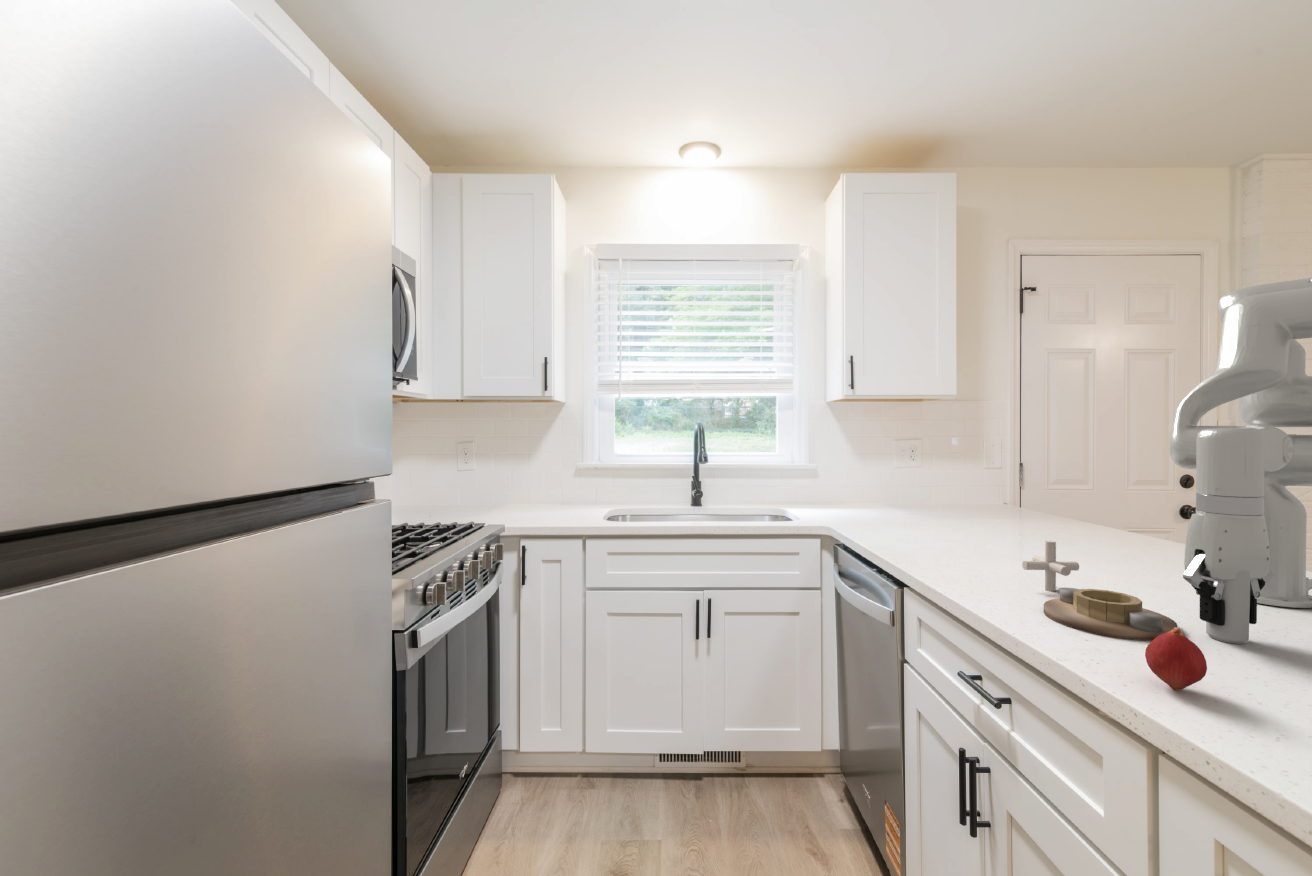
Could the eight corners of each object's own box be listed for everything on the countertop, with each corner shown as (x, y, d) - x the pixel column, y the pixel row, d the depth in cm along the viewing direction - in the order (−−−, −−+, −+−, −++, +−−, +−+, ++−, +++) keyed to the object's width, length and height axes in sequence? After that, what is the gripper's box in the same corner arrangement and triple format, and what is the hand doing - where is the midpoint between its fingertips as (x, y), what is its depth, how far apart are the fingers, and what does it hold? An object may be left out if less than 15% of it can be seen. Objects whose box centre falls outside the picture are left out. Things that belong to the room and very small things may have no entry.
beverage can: (1237, 635, 90) (1237, 560, 90) (1257, 646, 86) (1258, 567, 86) (1199, 632, 92) (1199, 558, 92) (1217, 643, 88) (1217, 565, 87)
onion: (1133, 680, 75) (1133, 620, 75) (1173, 678, 76) (1173, 618, 75) (1177, 701, 69) (1177, 636, 69) (1220, 698, 70) (1220, 634, 70)
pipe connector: (1061, 583, 121) (1061, 536, 120) (1092, 597, 111) (1092, 546, 111) (1011, 582, 122) (1011, 536, 121) (1038, 596, 112) (1038, 546, 112)
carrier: (1107, 602, 108) (1107, 580, 108) (1209, 637, 90) (1209, 611, 90) (1019, 606, 106) (1019, 584, 106) (1105, 642, 88) (1106, 616, 88)
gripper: (1249, 502, 93) (1248, 611, 94) (1156, 504, 91) (1155, 616, 92) (1306, 508, 86) (1304, 627, 86) (1206, 511, 84) (1204, 633, 84)
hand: (1227, 620), depth 89 cm, fingers closed on beverage can, 4 cm apart
